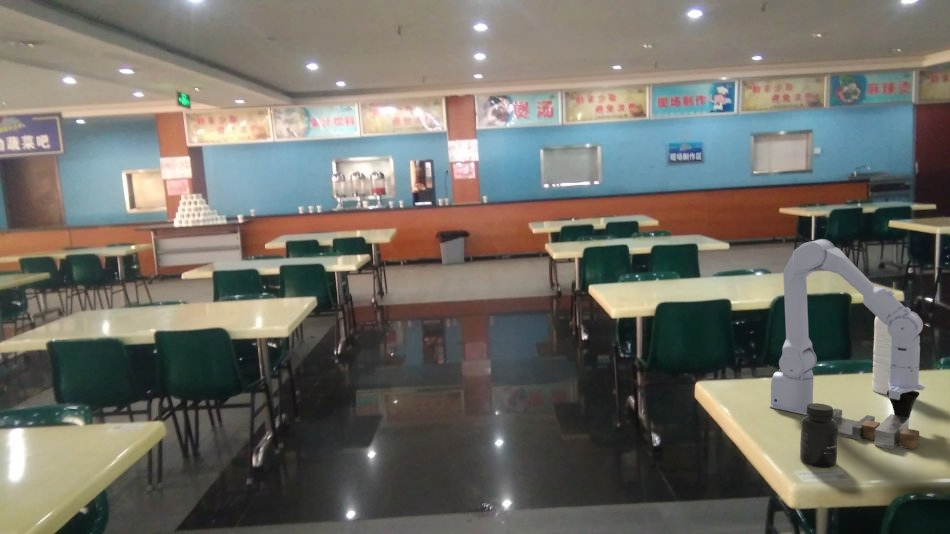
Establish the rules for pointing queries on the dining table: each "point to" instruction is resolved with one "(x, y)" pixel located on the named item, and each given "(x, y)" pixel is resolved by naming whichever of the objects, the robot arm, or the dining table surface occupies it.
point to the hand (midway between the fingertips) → (901, 421)
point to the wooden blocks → (907, 437)
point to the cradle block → (850, 425)
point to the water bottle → (881, 357)
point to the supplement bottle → (819, 436)
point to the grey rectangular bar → (890, 431)
